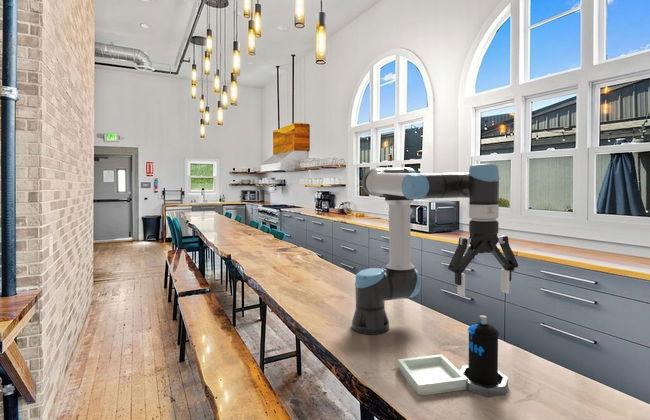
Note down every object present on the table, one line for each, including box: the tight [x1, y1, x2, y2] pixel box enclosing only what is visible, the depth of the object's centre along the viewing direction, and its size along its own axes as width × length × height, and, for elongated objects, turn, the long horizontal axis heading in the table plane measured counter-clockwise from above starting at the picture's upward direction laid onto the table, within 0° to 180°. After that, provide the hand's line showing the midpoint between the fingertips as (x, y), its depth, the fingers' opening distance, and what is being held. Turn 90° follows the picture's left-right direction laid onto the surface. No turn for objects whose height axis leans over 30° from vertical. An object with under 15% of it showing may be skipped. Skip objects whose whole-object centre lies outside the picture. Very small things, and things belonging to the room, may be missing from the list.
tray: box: [397, 353, 469, 397], centre depth 107 cm, size 15×15×3 cm
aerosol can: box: [467, 314, 500, 386], centre depth 103 cm, size 8×8×20 cm
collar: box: [459, 364, 509, 398], centre depth 104 cm, size 12×12×2 cm
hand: (483, 294), depth 102 cm, fingers open, 13 cm apart
